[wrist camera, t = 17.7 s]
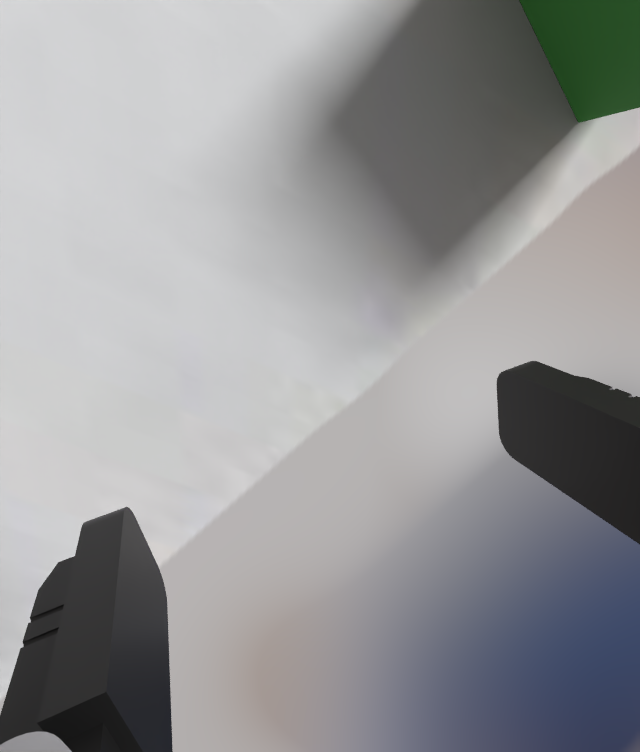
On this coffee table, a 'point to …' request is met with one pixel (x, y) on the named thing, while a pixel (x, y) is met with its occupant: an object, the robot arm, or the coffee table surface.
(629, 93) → the hardback book
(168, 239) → the coffee table surface
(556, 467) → the robot arm
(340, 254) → the coffee table surface
